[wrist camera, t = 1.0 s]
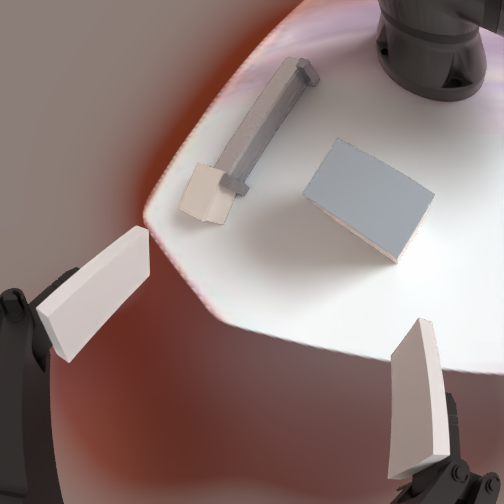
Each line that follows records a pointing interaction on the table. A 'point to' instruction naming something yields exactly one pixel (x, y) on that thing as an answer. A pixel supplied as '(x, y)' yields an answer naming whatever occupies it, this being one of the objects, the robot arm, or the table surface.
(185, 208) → the box
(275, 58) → the table surface
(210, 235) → the table surface
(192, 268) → the table surface
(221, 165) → the rail bracket
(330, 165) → the block
